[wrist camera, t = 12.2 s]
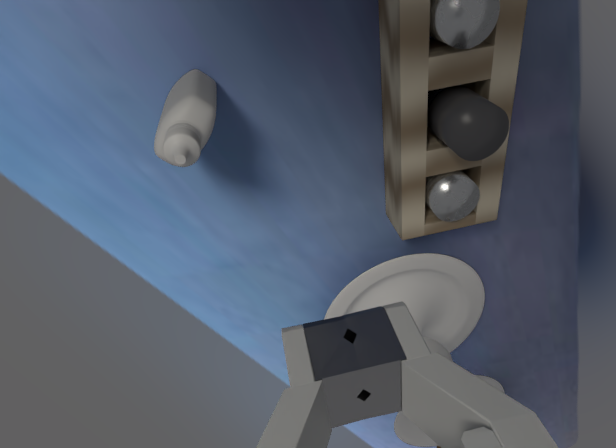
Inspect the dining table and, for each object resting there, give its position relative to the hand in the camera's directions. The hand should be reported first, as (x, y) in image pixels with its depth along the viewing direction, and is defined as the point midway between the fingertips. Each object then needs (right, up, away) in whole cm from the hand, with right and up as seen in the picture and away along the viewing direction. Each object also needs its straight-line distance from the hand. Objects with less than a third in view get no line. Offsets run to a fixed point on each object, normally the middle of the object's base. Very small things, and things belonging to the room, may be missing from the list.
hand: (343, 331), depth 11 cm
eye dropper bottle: (-11, +13, +27) cm, 32 cm away
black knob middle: (+12, +12, +27) cm, 32 cm away
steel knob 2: (+12, +8, +34) cm, 37 cm away
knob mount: (+11, +15, +31) cm, 36 cm away
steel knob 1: (+10, +21, +25) cm, 34 cm away
